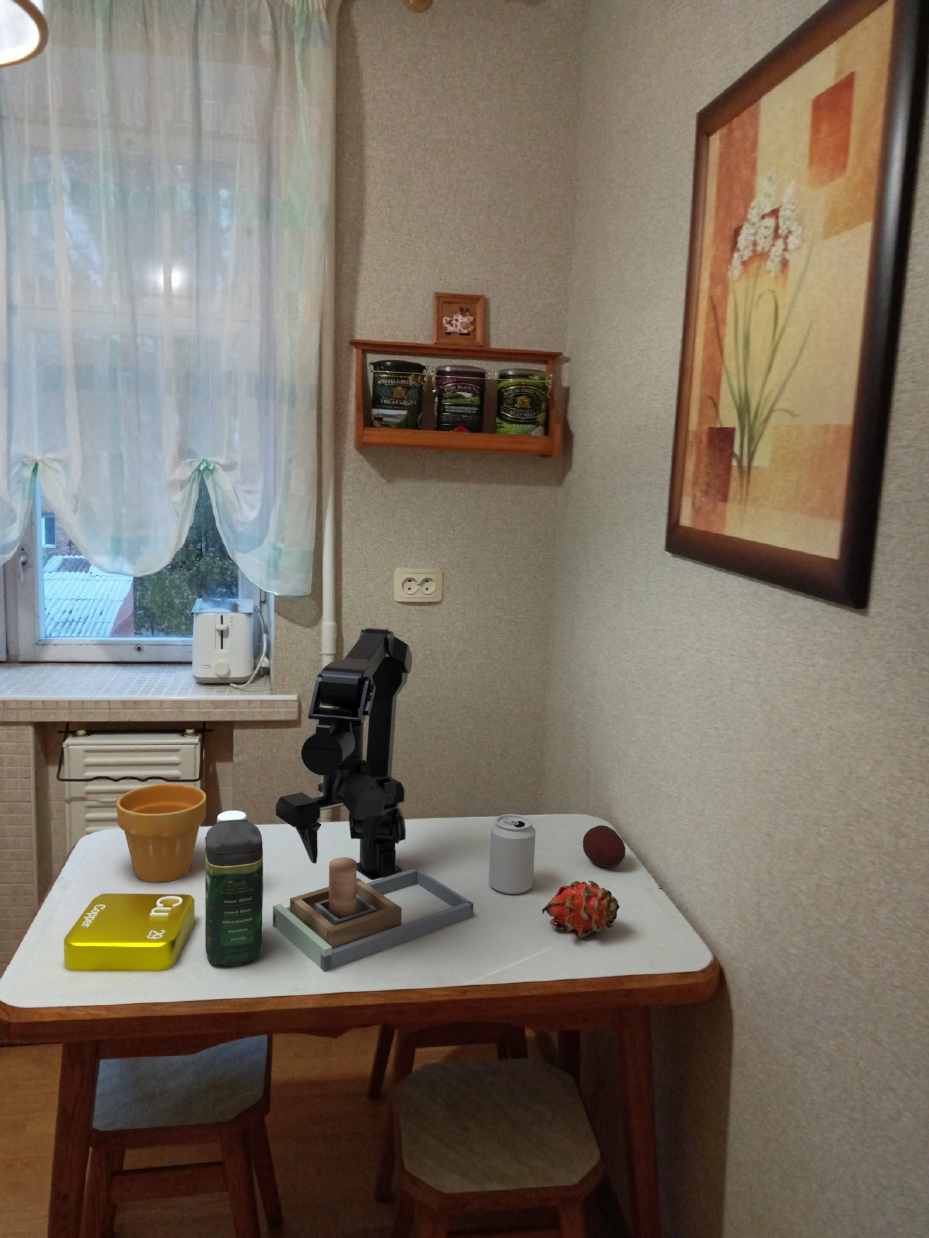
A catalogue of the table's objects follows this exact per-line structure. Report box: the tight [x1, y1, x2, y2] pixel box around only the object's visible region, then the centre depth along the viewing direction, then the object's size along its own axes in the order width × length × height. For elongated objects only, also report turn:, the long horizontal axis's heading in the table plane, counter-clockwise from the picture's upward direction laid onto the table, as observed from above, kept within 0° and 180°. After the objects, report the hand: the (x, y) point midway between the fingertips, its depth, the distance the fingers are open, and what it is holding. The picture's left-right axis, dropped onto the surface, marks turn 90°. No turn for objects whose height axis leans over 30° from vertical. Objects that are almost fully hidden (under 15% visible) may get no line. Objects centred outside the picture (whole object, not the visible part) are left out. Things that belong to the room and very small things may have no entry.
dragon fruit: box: [541, 880, 621, 939], centre depth 136 cm, size 8×8×12 cm
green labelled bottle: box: [204, 819, 264, 967], centre depth 126 cm, size 10×8×19 cm
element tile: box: [63, 893, 196, 972], centre depth 128 cm, size 15×15×5 cm
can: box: [488, 813, 537, 895], centre depth 149 cm, size 8×8×12 cm
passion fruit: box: [582, 824, 626, 868], centre depth 160 cm, size 7×8×7 cm
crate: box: [289, 877, 403, 949], centre depth 133 cm, size 12×12×4 cm
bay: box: [272, 867, 475, 972], centre depth 136 cm, size 15×27×4 cm, turn 129°
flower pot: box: [116, 783, 207, 883], centre depth 150 cm, size 14×14×13 cm
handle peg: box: [328, 856, 358, 919], centre depth 132 cm, size 4×4×10 cm
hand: (341, 854), depth 131 cm, fingers open, 9 cm apart
